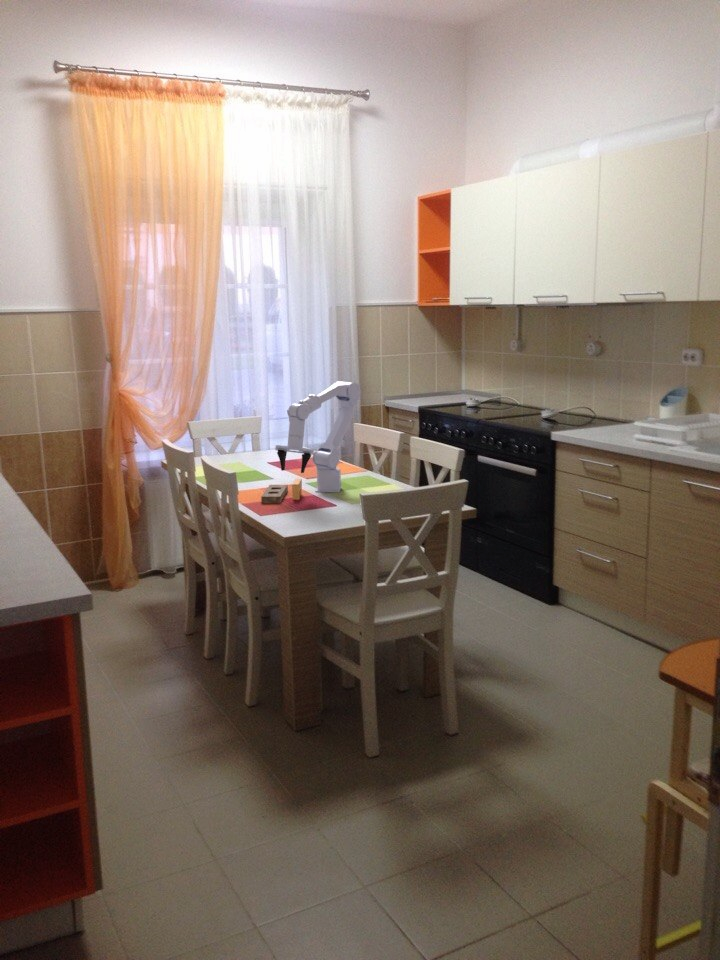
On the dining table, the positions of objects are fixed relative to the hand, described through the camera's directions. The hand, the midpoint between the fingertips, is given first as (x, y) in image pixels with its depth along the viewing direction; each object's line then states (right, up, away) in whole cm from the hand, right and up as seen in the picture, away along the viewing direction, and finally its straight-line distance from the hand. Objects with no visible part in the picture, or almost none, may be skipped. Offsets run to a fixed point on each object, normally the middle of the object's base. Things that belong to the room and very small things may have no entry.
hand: (292, 471), depth 312 cm
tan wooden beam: (+2, -10, +2) cm, 10 cm away
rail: (-7, -10, +2) cm, 12 cm away
